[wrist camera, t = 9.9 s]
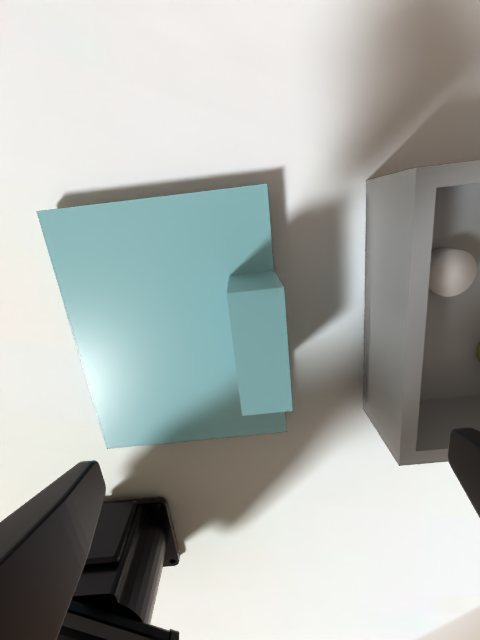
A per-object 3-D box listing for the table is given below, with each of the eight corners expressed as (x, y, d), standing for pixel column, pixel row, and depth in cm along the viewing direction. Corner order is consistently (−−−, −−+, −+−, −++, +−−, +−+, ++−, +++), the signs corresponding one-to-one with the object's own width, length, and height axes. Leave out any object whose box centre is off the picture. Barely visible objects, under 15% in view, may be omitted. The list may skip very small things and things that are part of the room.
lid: (283, 416, 22) (297, 482, 16) (115, 432, 22) (77, 501, 17) (264, 186, 17) (276, 174, 12) (54, 211, 18) (-27, 210, 12)
